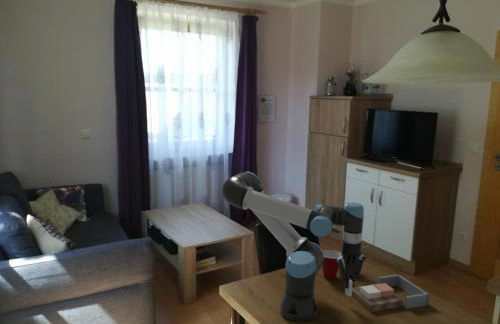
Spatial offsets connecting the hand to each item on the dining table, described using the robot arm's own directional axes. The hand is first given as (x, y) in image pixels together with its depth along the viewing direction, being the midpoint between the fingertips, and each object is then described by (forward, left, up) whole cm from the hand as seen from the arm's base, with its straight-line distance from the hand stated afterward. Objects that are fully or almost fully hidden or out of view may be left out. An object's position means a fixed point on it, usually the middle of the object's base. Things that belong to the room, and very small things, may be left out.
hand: (348, 294), depth 160 cm
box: (+28, 0, -5) cm, 28 cm away
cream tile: (+11, 0, -2) cm, 11 cm away
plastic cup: (+6, +25, -5) cm, 26 cm away
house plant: (+20, +27, -5) cm, 34 cm away
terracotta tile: (+17, 0, -2) cm, 17 cm away
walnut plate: (+14, 0, -5) cm, 15 cm away
